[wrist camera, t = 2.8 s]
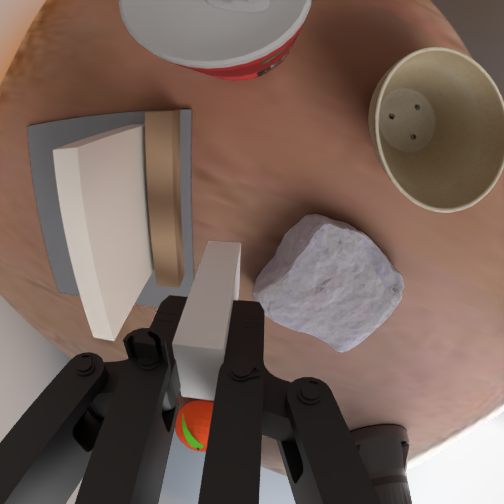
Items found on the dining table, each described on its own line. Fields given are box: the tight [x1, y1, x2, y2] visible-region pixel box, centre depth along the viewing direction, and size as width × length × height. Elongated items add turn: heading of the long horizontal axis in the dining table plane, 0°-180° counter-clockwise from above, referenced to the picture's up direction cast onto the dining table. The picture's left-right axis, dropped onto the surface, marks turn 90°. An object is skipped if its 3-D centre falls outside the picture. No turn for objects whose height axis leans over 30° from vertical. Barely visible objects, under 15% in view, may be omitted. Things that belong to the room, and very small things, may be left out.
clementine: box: [175, 400, 214, 451], centre depth 34 cm, size 8×7×7 cm
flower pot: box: [368, 47, 504, 213], centre depth 17 cm, size 10×10×7 cm
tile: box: [53, 124, 154, 341], centre depth 20 cm, size 12×2×10 cm, turn 177°
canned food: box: [119, 0, 312, 80], centre depth 13 cm, size 8×8×11 cm
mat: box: [27, 109, 194, 307], centre depth 25 cm, size 18×16×1 cm
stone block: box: [252, 214, 404, 352], centre depth 26 cm, size 12×5×10 cm
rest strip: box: [145, 110, 185, 288], centre depth 23 cm, size 14×2×2 cm, turn 177°
